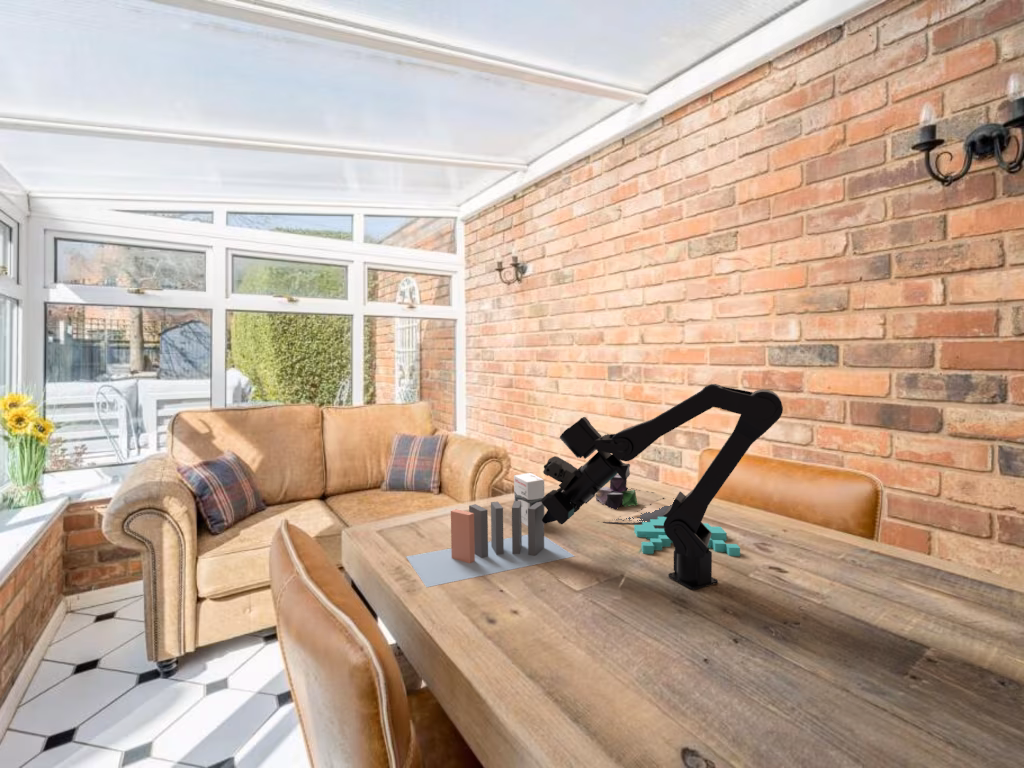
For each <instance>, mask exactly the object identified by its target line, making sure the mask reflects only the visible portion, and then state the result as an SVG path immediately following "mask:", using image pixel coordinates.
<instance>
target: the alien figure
mask: <svg viewBox="0 0 1024 768" xmlns="http://www.w3.org/2000/svg"><path fill="white" fill-rule="evenodd" d="M666 518H667V517H658V519H650V522H642V523H641V524H633V527H634V528H633V531H634V534H635V535H636V536H635V537H636V538H645V539H646V540H649V541H641V542H640V545H641V552H642V554H643V555H644V554H645V555H647V554H648V555H654V552H655V551H663V547H665V548H666V547H668V548H669V547H671V544H673V542H672V541H671V540H670V539H669V538H668V537H667V535H666V534H665V531H664V527H663V526H664V522H665V520H666ZM702 523H703V524H704V525H705V526H706V527H707V528H708V529H709V531H710V532H711V533H712V534H711V538H710V541H709V544H708V548H709V549H711V548H712V550H713V551H714V552H715V553H716V552H717V553H719V552H720V553H721V552H722V553H724V552H725V553H726V554H727V555H728V557H741V547H740V545H738V544H737V543H726V541H727V540H728V539H727V534H728V533H727V532H726V530H724V529H723V527H722V526H711V525H710V524H709V523H704V522H702ZM671 548H672V547H671Z"/></svg>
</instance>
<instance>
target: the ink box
mask: <svg viewBox="0 0 1024 768" xmlns="http://www.w3.org/2000/svg"><path fill="white" fill-rule="evenodd" d="M513 486H514V487H513V490H514V491H513V495H514V498H513V500H514V501H521V522H522V524H523V525H525V526H526V527H528V508H529V507H531V506H532V505H534V504H535V503H537V502H540V503H542V502H541V499H542V498H543V497H544V496H545V479H544V478H541V477H540V476H538V475H536V474H534V473H532V472H528V473H527V472H526V473H520V474H515V475H513ZM514 501H513V502H514ZM545 509H546V507H545V506H544V515H545V514H546V511H545ZM544 525H545V523H544Z"/></svg>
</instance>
